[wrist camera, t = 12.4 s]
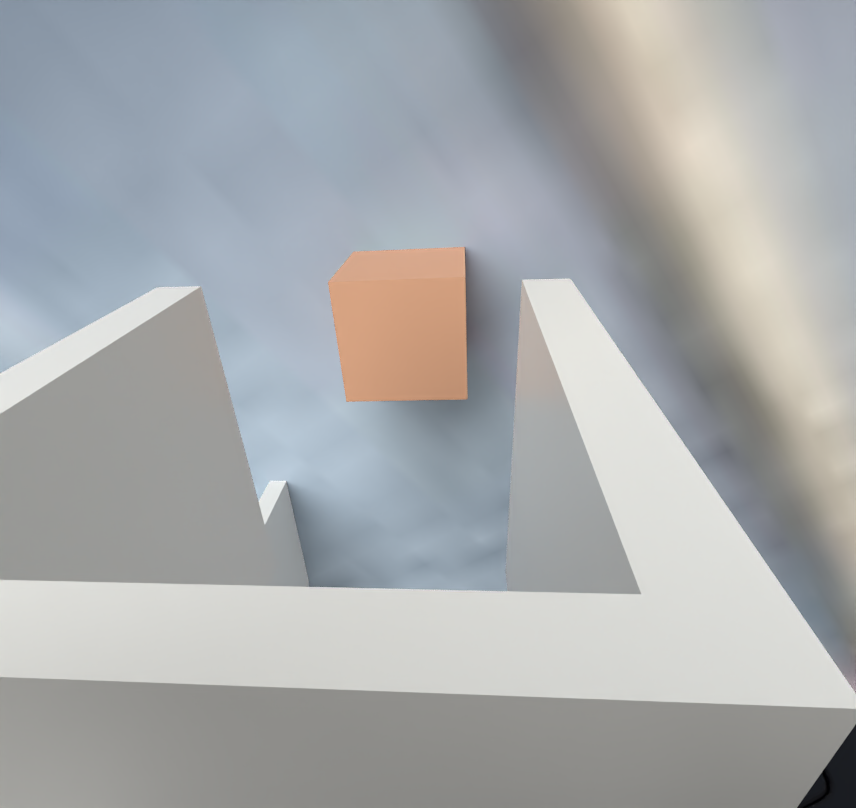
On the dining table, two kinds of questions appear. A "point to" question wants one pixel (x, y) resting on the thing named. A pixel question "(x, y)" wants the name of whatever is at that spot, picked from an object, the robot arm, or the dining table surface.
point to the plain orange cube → (402, 324)
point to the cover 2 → (383, 606)
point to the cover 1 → (283, 536)
